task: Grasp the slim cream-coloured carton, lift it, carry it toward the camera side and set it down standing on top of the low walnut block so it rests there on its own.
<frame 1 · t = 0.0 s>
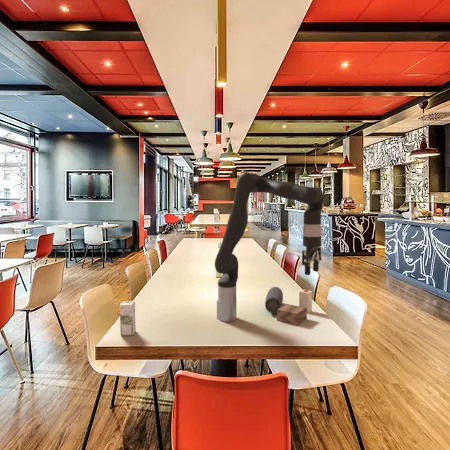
hand: (311, 273, 146), 29 cm above the table, fingers open, 8 cm apart
syrup box: (128, 333, 158), on the table
walnut block: (291, 320, 174), on the table
bluetooth speaker: (274, 309, 192), on the table
cream carton: (305, 311, 186), on the table
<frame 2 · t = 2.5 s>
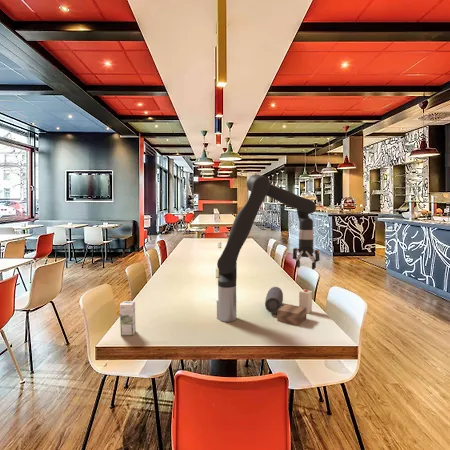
hand: (305, 268, 184), 24 cm above the table, fingers open, 8 cm apart
nothing on the table moved.
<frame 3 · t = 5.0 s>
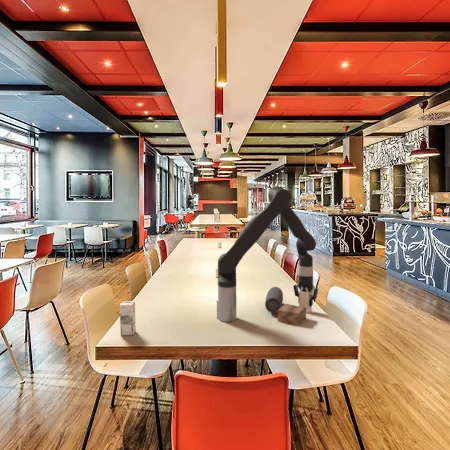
hand: (305, 305, 186), 3 cm above the table, fingers closed on cream carton, 5 cm apart
cream carton: (305, 311, 186), on the table, touching gripper
everything else where it was.
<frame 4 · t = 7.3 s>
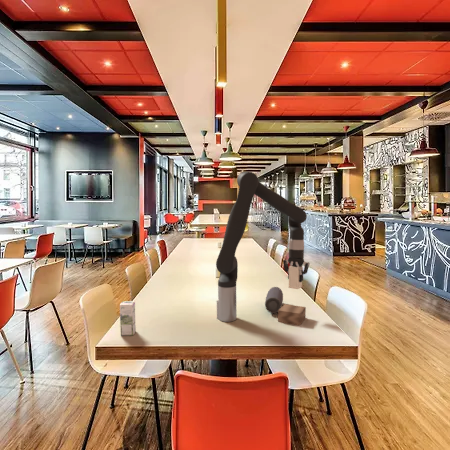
hand: (295, 280, 177), 19 cm above the table, fingers closed on cream carton, 5 cm apart
cream carton: (295, 287, 177), point 15 cm above the table, touching gripper
everything else where it was.
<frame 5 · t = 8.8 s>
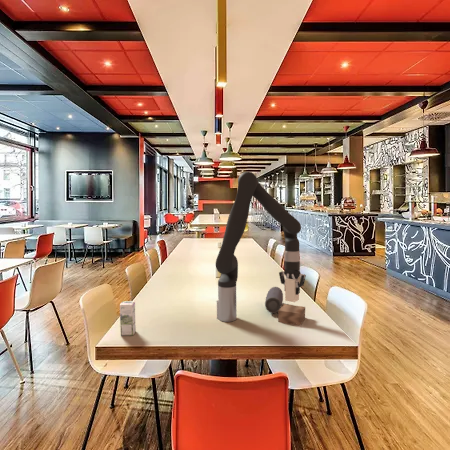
hand: (292, 293, 172), 14 cm above the table, fingers closed on cream carton, 5 cm apart
cream carton: (292, 300, 173), point 10 cm above the table, touching gripper
everything else where it was.
when the fingers open (10 cm above the table, at t = 9.8 s): cream carton drops 1 cm, resting on walnut block.
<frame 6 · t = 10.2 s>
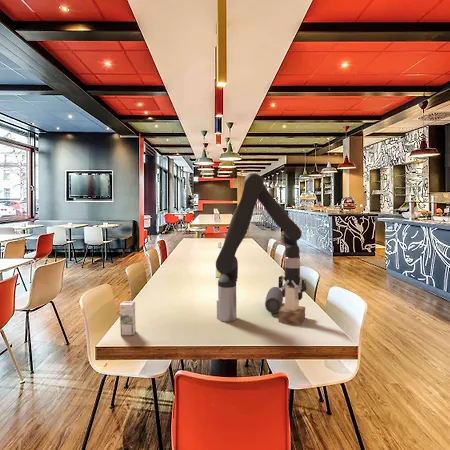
hand: (292, 298, 173), 11 cm above the table, fingers open, 8 cm apart
walnut block: (292, 320, 173), on the table, touching cream carton
cream carton: (291, 308, 173), point 6 cm above the table, touching walnut block
everything else where it was.
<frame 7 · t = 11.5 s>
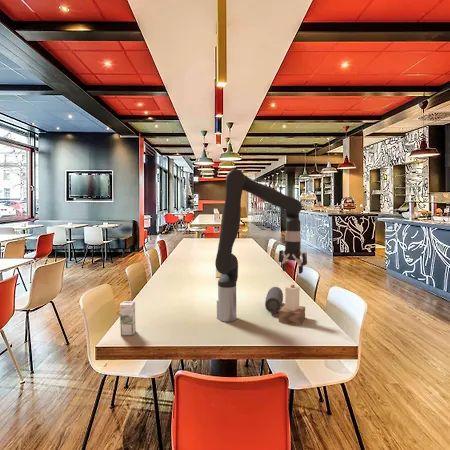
hand: (292, 272, 172), 24 cm above the table, fingers open, 8 cm apart
nothing on the table moved.
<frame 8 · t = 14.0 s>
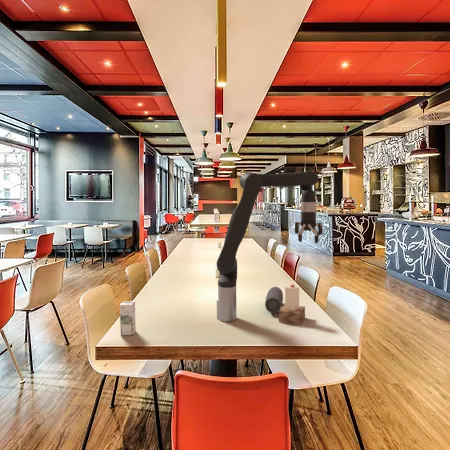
hand: (308, 242, 178), 38 cm above the table, fingers open, 8 cm apart
walnut block: (292, 320, 174), on the table
cream carton: (292, 308, 173), point 6 cm above the table
everything else where it was.
at the end: cream carton inside the target area on the walnut block (0.1 cm from its centre), point 6.1 cm above the walnut block's base; cream carton tilted 1°; the gripper is holding nothing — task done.
